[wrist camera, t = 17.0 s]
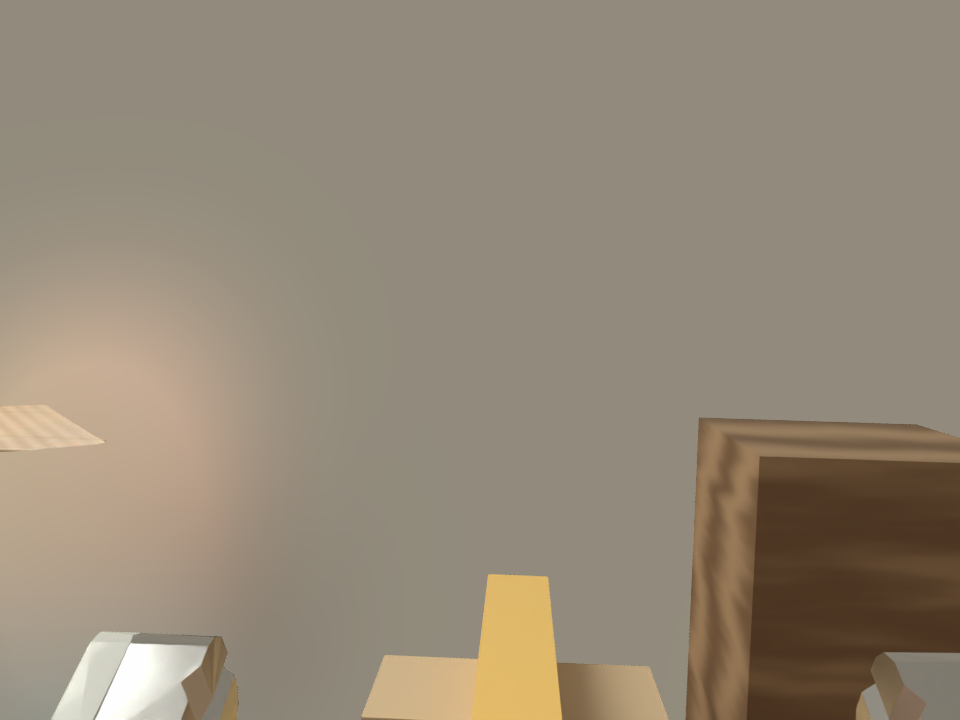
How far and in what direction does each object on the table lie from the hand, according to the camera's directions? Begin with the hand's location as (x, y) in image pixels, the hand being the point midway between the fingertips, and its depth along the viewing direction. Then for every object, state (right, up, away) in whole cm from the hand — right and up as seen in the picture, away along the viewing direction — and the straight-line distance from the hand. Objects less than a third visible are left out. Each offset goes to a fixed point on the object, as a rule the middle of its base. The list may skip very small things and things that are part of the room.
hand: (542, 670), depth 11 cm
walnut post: (+17, -26, +33) cm, 45 cm away
